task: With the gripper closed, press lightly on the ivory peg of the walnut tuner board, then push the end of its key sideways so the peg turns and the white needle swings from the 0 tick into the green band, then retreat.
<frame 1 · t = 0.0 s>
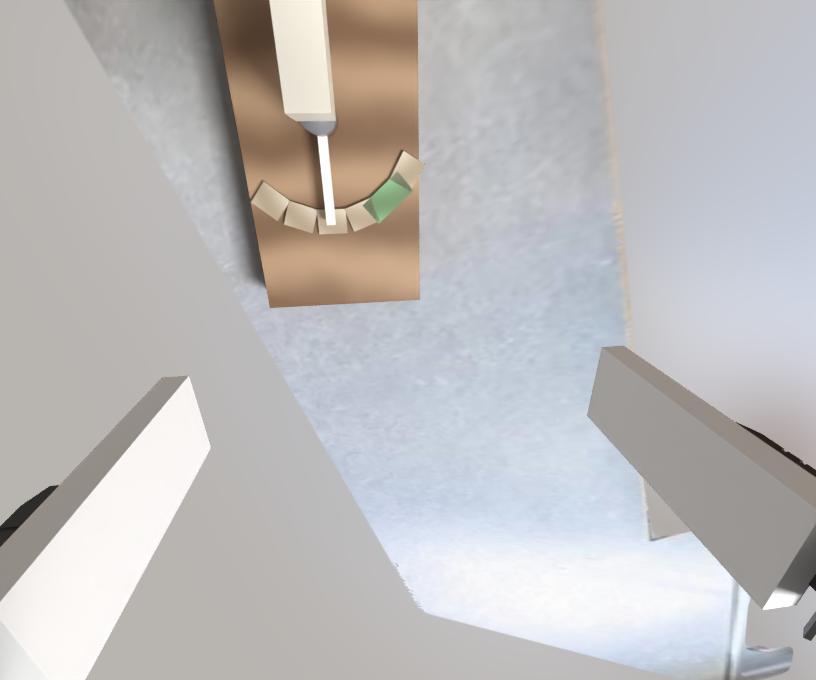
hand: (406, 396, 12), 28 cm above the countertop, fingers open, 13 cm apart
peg: (313, 96, 25), point 9 cm above the countertop, hinge at 0.0°
tuner board: (333, 138, 33), on the countertop
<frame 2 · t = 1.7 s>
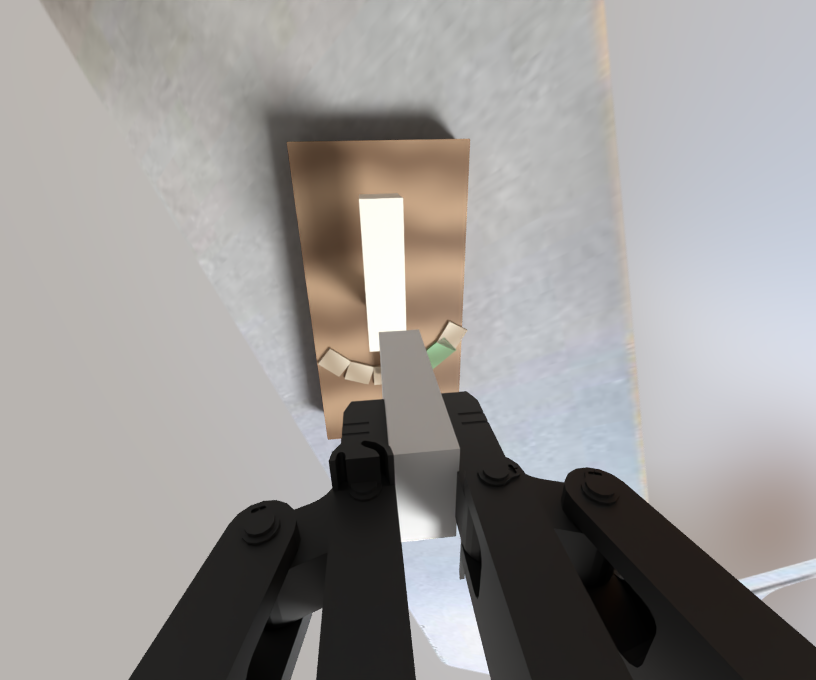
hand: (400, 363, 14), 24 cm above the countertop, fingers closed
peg: (384, 309, 30), point 9 cm above the countertop, hinge at 0.0°
tuner board: (385, 298, 38), on the countertop
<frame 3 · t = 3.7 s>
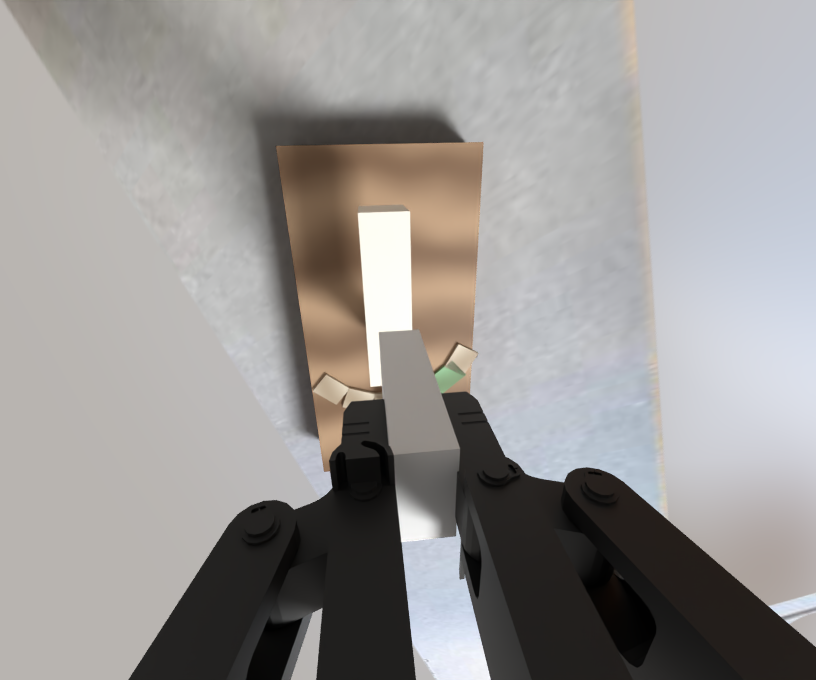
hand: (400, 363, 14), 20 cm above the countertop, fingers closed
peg: (386, 335, 26), point 9 cm above the countertop, hinge at 0.0°
tuner board: (387, 317, 35), on the countertop
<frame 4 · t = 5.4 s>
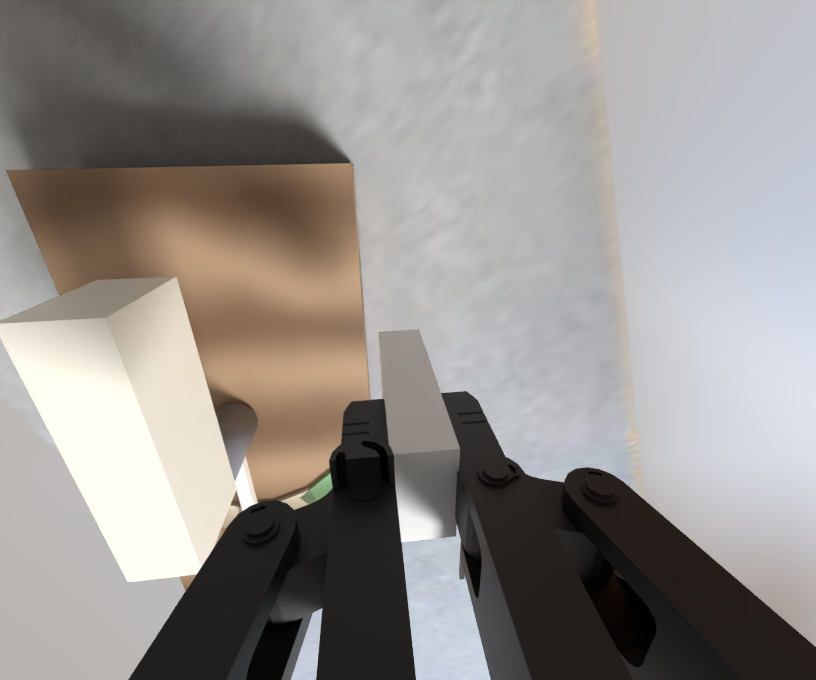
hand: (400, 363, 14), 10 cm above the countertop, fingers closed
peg: (202, 462, 17), point 9 cm above the countertop, hinge at 0.0°
tuner board: (265, 393, 25), on the countertop
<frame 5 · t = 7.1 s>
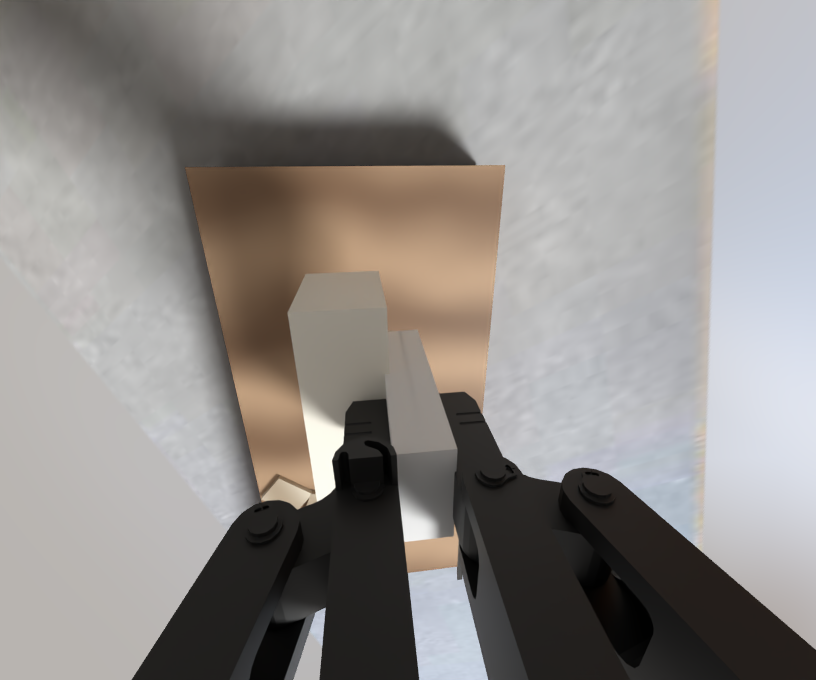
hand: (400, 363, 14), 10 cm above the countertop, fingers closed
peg: (358, 452, 17), point 9 cm above the countertop, hinge at 0.4°, touching gripper
tuner board: (366, 389, 26), on the countertop
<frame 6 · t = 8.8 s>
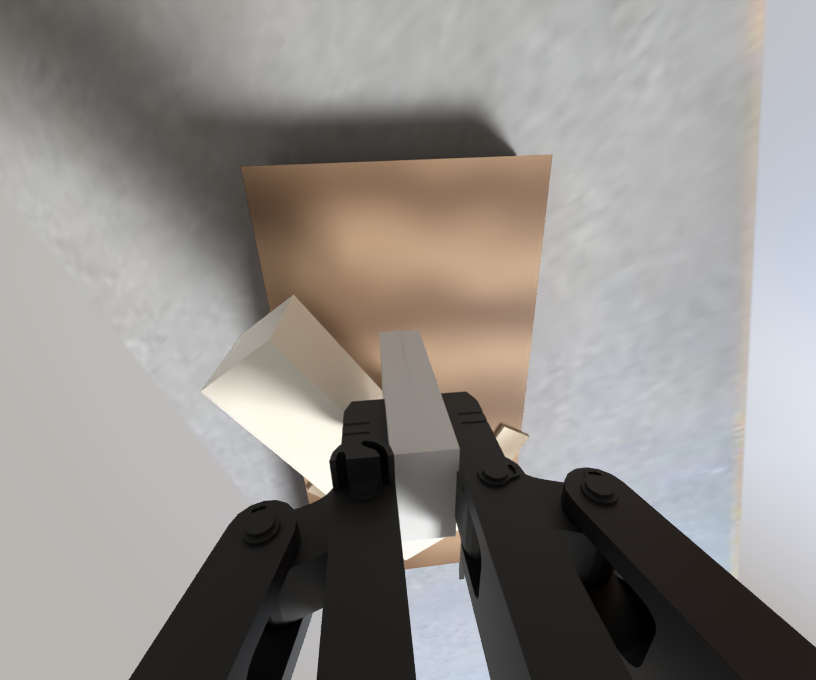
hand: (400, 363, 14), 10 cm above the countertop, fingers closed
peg: (400, 446, 18), point 9 cm above the countertop, hinge at 33.5°
tuner board: (405, 382, 26), on the countertop
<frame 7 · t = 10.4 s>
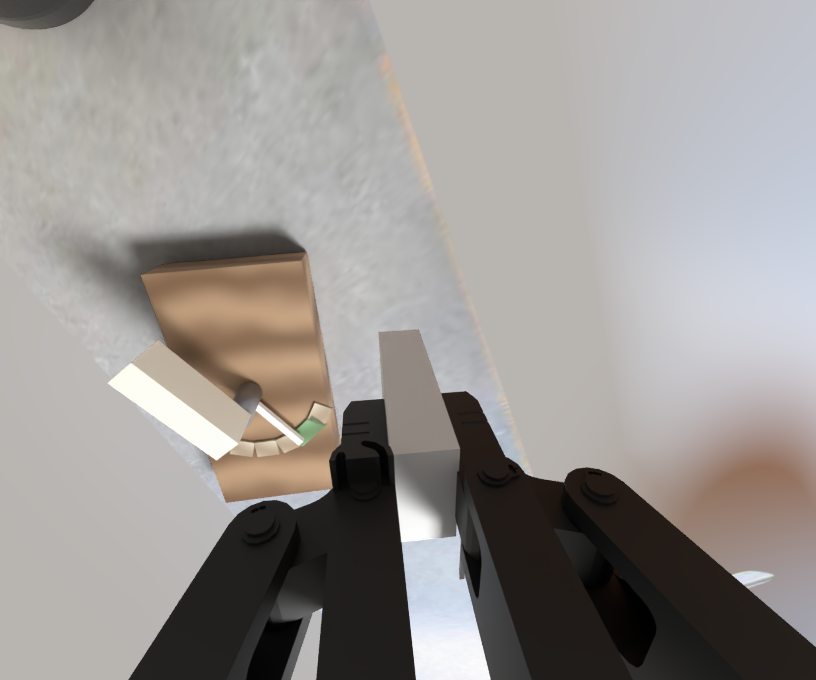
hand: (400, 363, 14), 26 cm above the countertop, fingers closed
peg: (230, 411, 35), point 9 cm above the countertop, hinge at 33.5°
tuner board: (267, 378, 43), on the countertop
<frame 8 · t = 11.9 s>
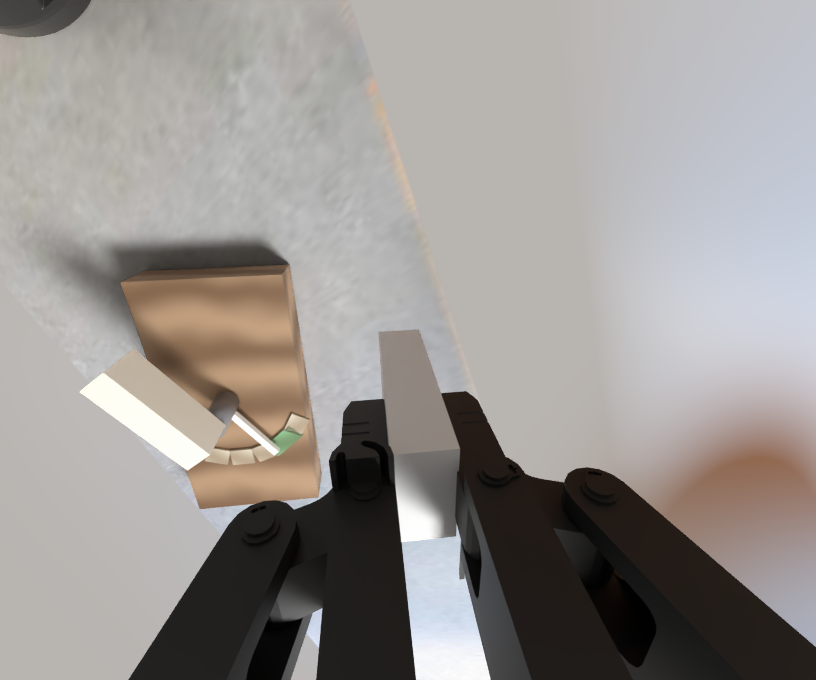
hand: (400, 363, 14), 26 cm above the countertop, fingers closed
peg: (204, 420, 35), point 9 cm above the countertop, hinge at 33.5°
tuner board: (245, 387, 43), on the countertop
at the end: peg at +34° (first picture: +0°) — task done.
